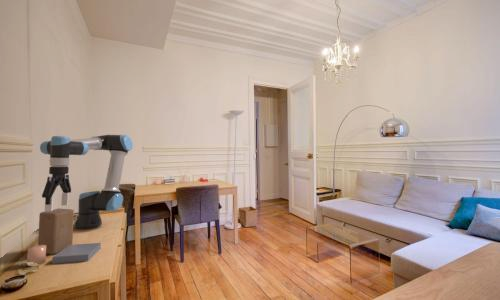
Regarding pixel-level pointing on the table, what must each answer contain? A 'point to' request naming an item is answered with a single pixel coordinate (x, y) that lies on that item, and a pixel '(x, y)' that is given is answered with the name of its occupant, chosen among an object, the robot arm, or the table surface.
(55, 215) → the wooden block
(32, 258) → the reddish brown block
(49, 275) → the table surface
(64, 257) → the slate plinth
